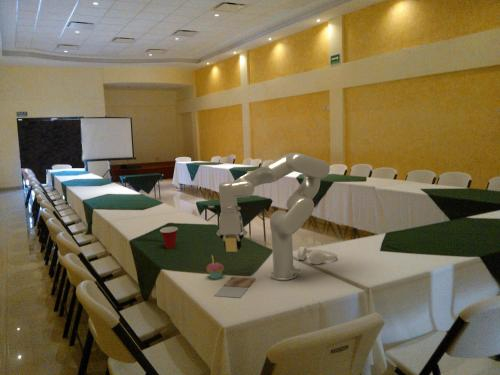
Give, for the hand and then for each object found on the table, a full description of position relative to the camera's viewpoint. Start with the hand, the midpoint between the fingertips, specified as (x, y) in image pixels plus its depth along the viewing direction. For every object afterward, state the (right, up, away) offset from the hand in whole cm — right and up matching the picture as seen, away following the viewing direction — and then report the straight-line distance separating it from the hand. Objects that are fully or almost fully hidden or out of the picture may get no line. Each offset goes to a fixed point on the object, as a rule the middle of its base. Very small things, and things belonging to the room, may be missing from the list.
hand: (233, 248), depth 190 cm
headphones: (+44, -11, +33) cm, 56 cm away
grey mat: (0, -18, -8) cm, 20 cm away
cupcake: (-9, -16, +12) cm, 22 cm away
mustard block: (0, -1, 0) cm, 1 cm away
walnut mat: (+3, -16, +4) cm, 17 cm away
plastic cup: (-42, -10, +69) cm, 81 cm away
